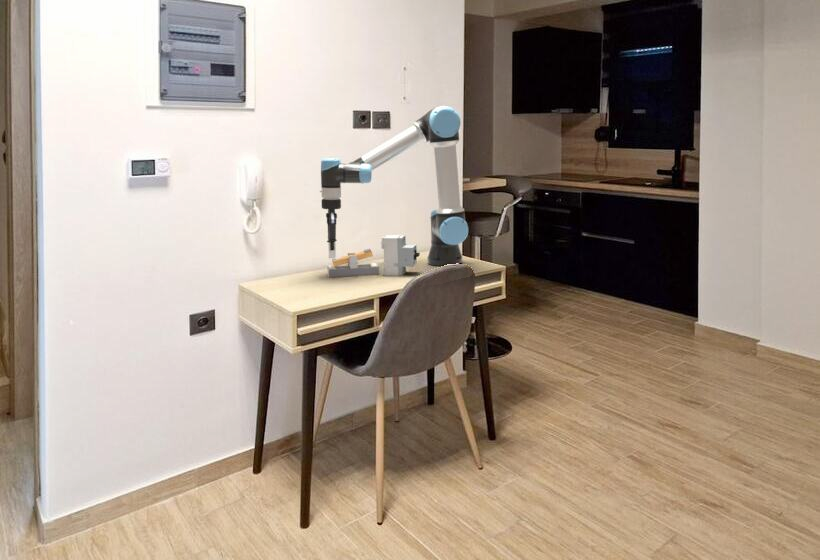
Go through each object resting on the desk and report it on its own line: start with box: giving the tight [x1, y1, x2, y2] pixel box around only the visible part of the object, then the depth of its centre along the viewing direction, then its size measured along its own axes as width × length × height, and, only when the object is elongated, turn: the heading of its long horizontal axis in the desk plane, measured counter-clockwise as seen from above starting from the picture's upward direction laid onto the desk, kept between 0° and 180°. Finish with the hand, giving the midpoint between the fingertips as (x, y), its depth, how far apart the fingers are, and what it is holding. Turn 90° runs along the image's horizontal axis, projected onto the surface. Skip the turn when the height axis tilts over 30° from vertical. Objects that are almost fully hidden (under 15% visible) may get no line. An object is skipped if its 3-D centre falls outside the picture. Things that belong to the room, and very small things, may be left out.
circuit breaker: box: [380, 234, 421, 277], centre depth 257 cm, size 8×14×15 cm, turn 78°
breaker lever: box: [331, 248, 373, 267], centre depth 259 cm, size 16×5×3 cm, turn 100°
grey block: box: [326, 252, 380, 278], centre depth 259 cm, size 20×7×8 cm, turn 101°
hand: (332, 258), depth 257 cm, fingers closed
